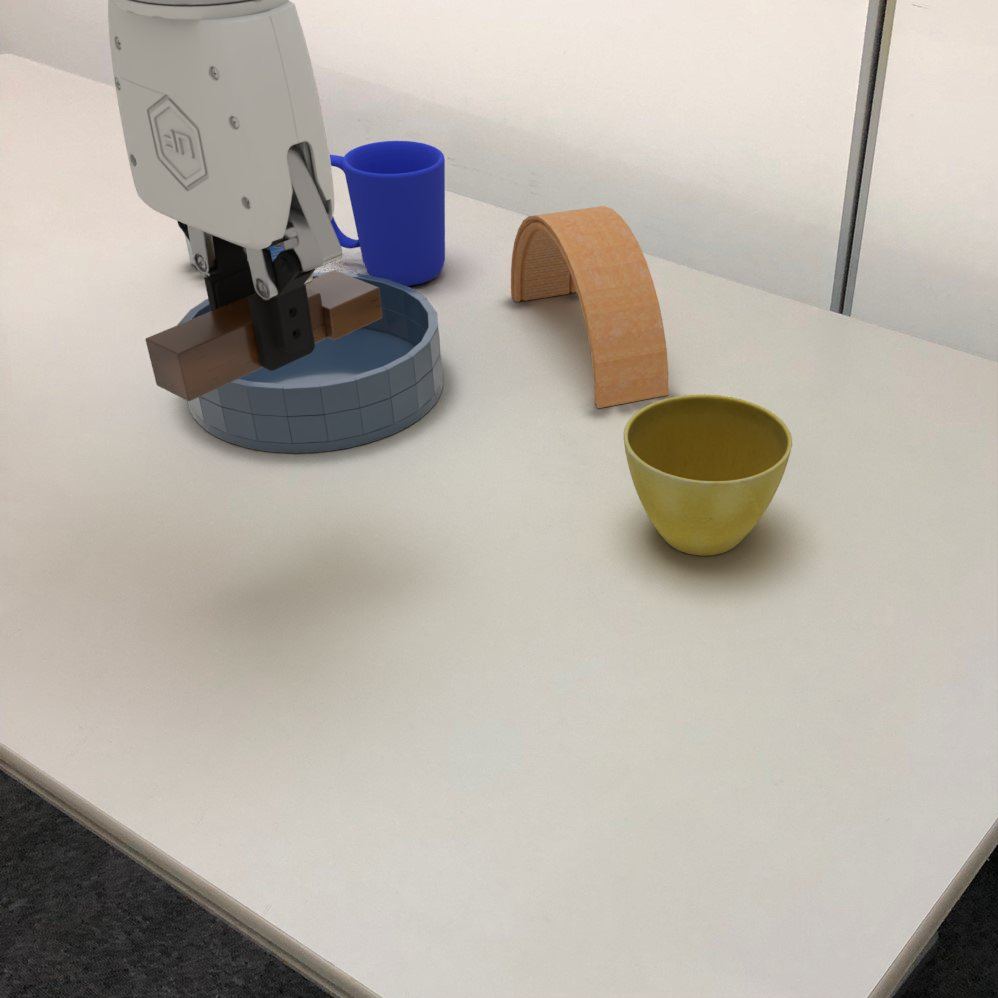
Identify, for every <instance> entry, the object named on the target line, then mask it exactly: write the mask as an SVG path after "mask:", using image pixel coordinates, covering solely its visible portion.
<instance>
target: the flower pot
mask: <svg viewBox="0 0 998 998" xmlns="http://www.w3.org/2000/svg"><path fill="white" fill-rule="evenodd" d="M623 444H624V451H625V456H626V461H627V466H628V469H629V474H630V477H631V480H632V484H633V486H634V488H635V491H636V494H637V497H638V499H639V501H640V503H641V506H642V507H643V509H644V511H645V513H646V515H647V517H648V519H649V520H650V522H651V523H652V525H653V526H654V528H655V529H656V530H657V532H658V534H659V535H660V536H661V537H662V539H663V540H664V541H665V542H666V543H667V544H668V545H669V546H671V547H672V548H673V549H675V550H677V551H679V552H681V553H684V554H688V555H693V556H699V557H700V556H702V557H704V556H705V557H707V556H716V555H721V554H724V553H726V552H729V551H730V550H732V549H735V547H737V546H738V545H739V544H740V543H741V542H742V541H743V540H744V539H745V538H746V536H748V534H749V533H750V532H752V530H753V529H754V528H755V526H756V525H757V524H758V523H759V521H760V520H761V518H762V517H763V515H764V514H765V512H766V511H767V509H768V507H770V504H771V502H772V500H773V499H774V497H775V494H776V492H777V491H778V489H779V487H780V484H781V483H782V479H783V477H784V474H785V472H786V469H787V466H788V462H789V458H790V456H791V451H792V447H793V438H792V433H791V432H790V429H789V427H788V426H787V424H786V423H785V422H784V421H783V420H782V418H780V417H779V416H777V414H775V413H774V412H772V411H771V410H769V409H767V408H766V407H763V406H761V405H759V404H756V403H753V402H751V401H748V400H745V399H742V398H737V397H733V396H726V395H721V394H720V395H719V394H684V395H679V396H672V397H668V398H663V399H660V400H658V401H655V402H652V403H649V404H648V405H646V406H644V407H643V408H641V409H639V410H638V411H636V412H635V413H634V414H633V415H632V416H631V417H630V418H629V419H628V421H627V422H626V424H625V426H624V429H623Z"/></svg>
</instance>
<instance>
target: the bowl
mask: <svg viewBox="0 0 998 998" xmlns="http://www.w3.org/2000/svg"><path fill="white" fill-rule="evenodd" d="M328 272H329V271H321V272H318V271H317V272H313V273H312V274H313V279H314V278H316V277H318V276H321V275H323V274H326V273H328ZM342 273H343V274H346V275H348V276H351V277H353V278H356V279H359V280H361V281H364V282H366V283H369V284H371V285H374V286H376V287H379V291H380V300H381V308H382V318H381V319H379V320H377V321H374V322H372V323H370V324H368V325H366V326H364V327H362V328H359V329H357V330H355V331H353V332H351V333H349V334H347V335H344V336H342V337H340V338H338V339H336V340H332V339H330V338H325V339H323V340H321V341H319V342H317V343H315V347H314V350H313V351H312V353H310V354H308V355H306V356H304V357H301V358H299V359H297V360H295V361H293V362H291V363H289V364H286V365H284V366H282V367H280V368H278V369H276V370H273V371H270V370H268V369H266V368H264V367H263V368H261V369H258V370H256V371H254V372H252V373H250V374H248V375H245V376H243V377H241V378H239V379H237V380H235V381H232V382H230V383H228V384H226V385H224V386H222V387H219V388H217V389H215V390H213V391H211V392H209V393H206V394H204V395H202V396H200V397H198V398H196V399H193V400H191V401H187V404H188V408H189V411H190V413H191V416H192V418H193V419H194V420H195V422H196V423H197V424H198V425H199V426H200V427H201V428H202V429H203V430H205V431H206V432H207V433H208V434H210V435H212V436H214V437H216V438H217V439H220V440H222V441H224V442H226V443H229V444H232V445H234V446H235V445H236V446H239V447H242V448H246V449H251V450H254V451H255V450H256V451H262V452H270V453H271V452H272V453H278V454H279V453H280V454H281V453H282V454H283V453H284V454H309V453H312V454H313V453H324V452H333V451H338V450H344V449H345V450H346V449H350V448H354V447H358V446H363V445H366V444H370V443H373V442H376V441H379V440H382V439H385V438H387V437H389V436H392V435H395V434H397V433H399V432H401V431H403V430H405V429H407V428H408V427H410V426H412V425H414V424H415V423H416V422H418V421H419V420H420V419H422V418H423V417H424V416H426V415H427V414H428V413H429V412H430V411H431V409H433V407H434V406H435V405H436V403H437V402H438V400H439V398H441V397H440V396H441V394H442V390H443V385H444V384H443V383H444V376H443V362H442V353H441V352H442V351H441V342H440V341H441V340H440V330H439V329H440V328H439V318H438V312H437V311H436V309H435V307H434V306H433V305H432V303H431V302H430V300H429V299H428V298H427V297H425V296H424V295H423V294H421V293H420V292H418V291H416V290H415V289H413V288H412V287H410V286H405V285H402V284H399V283H396V282H394V281H391V280H387V279H384V278H378V277H373V276H370V275H369V274H363V273H353V272H352V273H351V272H342ZM208 312H211V309H210V304H209V299H208V298H206V299H204V300H203V301H202V302H200V303H198V304H197V305H195V306H194V307H193V308H191V309H190V310H188V311H187V313H186V314H185V315H184V317H182V319H180V321H179V322H178V323H177V325H179V324H182V323H184V322H186V321H189V320H191V319H194V318H196V317H199V316H201V315H203V314H206V313H208Z"/></svg>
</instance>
